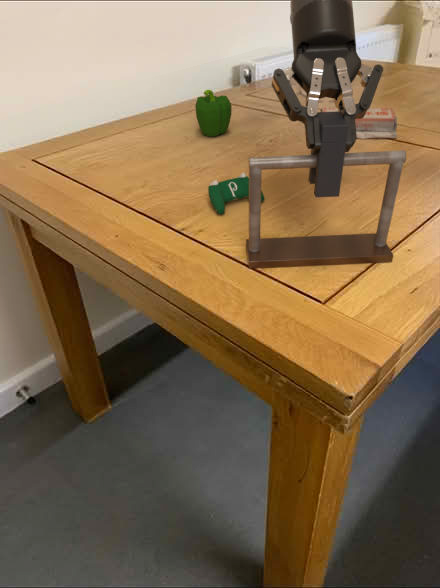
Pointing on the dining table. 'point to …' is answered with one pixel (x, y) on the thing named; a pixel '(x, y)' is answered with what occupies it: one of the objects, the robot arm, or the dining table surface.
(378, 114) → the packaged product
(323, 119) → the clip
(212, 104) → the bell pepper
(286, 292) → the dining table surface
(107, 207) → the dining table surface
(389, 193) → the rail stand
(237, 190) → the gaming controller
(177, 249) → the dining table surface
